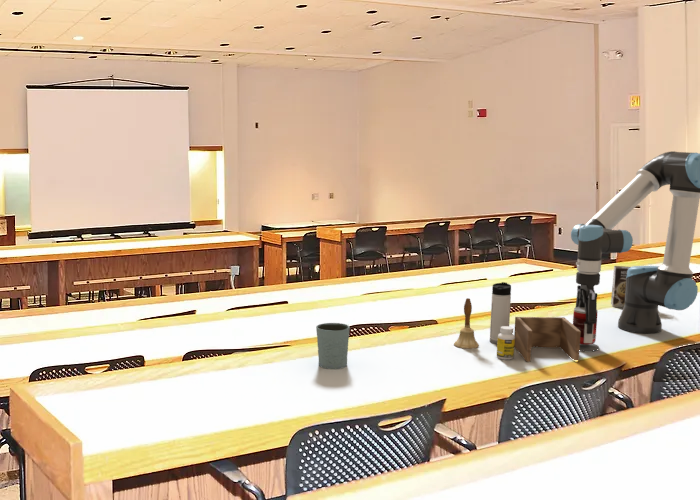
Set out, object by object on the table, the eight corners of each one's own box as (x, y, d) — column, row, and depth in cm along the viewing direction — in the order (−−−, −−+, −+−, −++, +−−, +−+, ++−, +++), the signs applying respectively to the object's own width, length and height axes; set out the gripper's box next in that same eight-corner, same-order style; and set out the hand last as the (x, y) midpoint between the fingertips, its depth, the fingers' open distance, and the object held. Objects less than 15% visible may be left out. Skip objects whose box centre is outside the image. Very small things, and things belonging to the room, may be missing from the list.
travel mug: (510, 340, 296) (513, 283, 293) (505, 345, 290) (508, 286, 287) (492, 338, 298) (495, 281, 295) (487, 342, 292) (490, 284, 289)
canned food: (593, 339, 292) (595, 307, 291) (597, 345, 285) (599, 312, 283) (570, 338, 293) (572, 306, 291) (573, 344, 285) (575, 311, 284)
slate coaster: (593, 343, 294) (593, 341, 294) (602, 351, 284) (603, 350, 284) (564, 343, 294) (564, 341, 294) (572, 351, 284) (572, 349, 284)
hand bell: (478, 349, 284) (480, 302, 281) (452, 347, 285) (454, 300, 283) (479, 343, 292) (481, 296, 289) (454, 341, 293) (456, 295, 291)
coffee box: (612, 307, 351) (615, 268, 349) (610, 303, 358) (613, 265, 355) (636, 308, 350) (639, 269, 347) (633, 305, 356) (636, 266, 354)
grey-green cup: (337, 371, 256) (338, 332, 254) (309, 365, 262) (309, 327, 260) (355, 363, 265) (356, 325, 263) (327, 358, 270) (328, 320, 268)
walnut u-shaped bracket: (562, 346, 290) (564, 317, 288) (578, 362, 272) (580, 331, 270) (513, 346, 289) (515, 316, 287) (526, 361, 271) (528, 330, 269)
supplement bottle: (503, 360, 272) (505, 330, 270) (493, 356, 276) (494, 326, 275) (517, 358, 274) (519, 328, 273) (506, 354, 279) (508, 324, 277)
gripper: (568, 266, 295) (563, 331, 299) (586, 278, 275) (582, 347, 278) (589, 266, 296) (585, 331, 299) (610, 278, 275) (605, 348, 279)
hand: (583, 339), depth 289 cm, fingers closed on canned food, 8 cm apart
